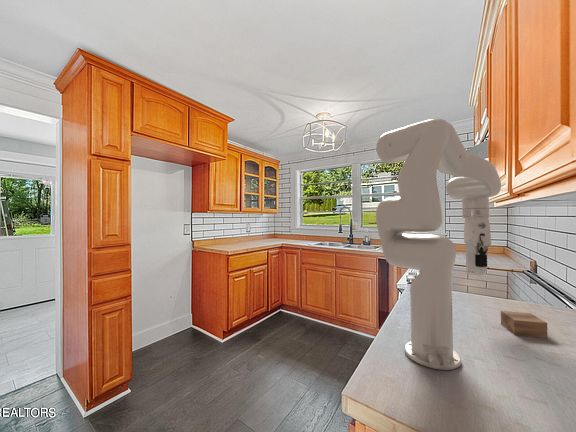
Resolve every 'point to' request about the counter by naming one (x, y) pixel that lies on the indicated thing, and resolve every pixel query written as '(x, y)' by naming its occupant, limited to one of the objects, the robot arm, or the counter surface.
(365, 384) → the counter surface
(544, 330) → the brown wooden block
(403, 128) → the robot arm
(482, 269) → the skincare box
